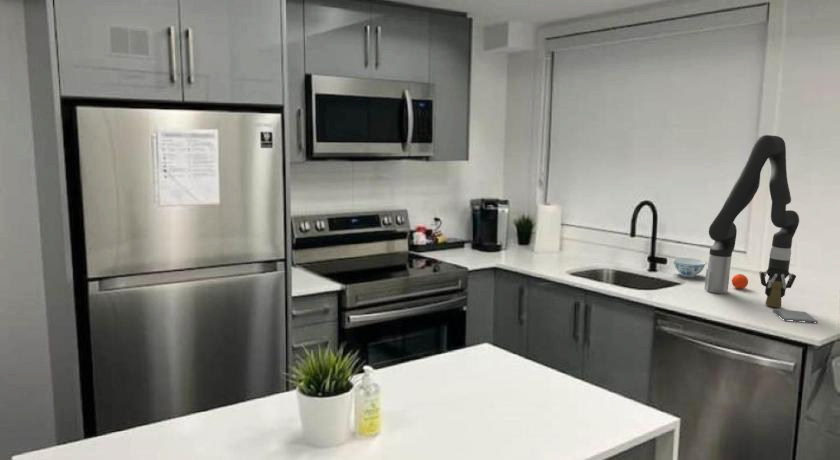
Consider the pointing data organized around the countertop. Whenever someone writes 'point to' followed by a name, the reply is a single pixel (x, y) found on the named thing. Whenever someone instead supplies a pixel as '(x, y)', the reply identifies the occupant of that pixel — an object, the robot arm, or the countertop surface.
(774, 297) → the cork
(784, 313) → the trivet
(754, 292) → the countertop surface
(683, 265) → the chinaware
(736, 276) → the clementine
